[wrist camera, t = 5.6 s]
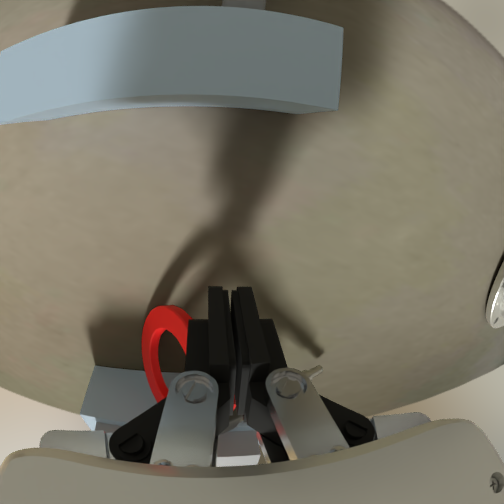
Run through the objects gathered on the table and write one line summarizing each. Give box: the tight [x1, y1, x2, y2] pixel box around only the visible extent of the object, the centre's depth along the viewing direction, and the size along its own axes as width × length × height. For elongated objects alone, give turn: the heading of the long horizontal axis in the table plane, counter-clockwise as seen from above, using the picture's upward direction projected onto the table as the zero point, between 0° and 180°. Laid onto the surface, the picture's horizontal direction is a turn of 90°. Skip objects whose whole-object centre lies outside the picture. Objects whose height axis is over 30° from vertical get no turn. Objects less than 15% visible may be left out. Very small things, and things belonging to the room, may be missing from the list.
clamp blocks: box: [0, 0, 343, 467], centre depth 10 cm, size 12×28×6 cm, turn 175°
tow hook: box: [142, 305, 323, 435], centre depth 16 cm, size 7×10×7 cm
